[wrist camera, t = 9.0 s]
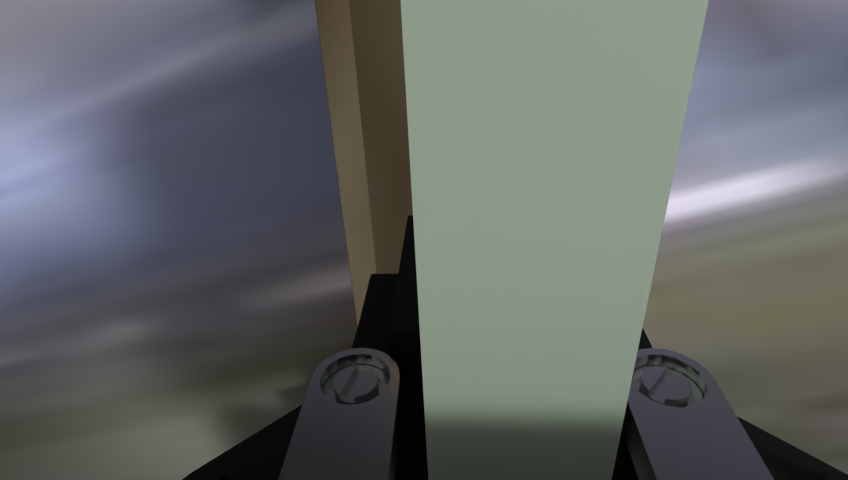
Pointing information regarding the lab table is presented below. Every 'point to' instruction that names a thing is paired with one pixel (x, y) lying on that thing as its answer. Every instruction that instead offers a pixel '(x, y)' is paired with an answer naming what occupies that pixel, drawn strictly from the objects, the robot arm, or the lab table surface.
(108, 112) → the lab table surface
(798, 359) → the lab table surface
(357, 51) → the cradle
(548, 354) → the tall sheet
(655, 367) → the robot arm
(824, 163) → the lab table surface
